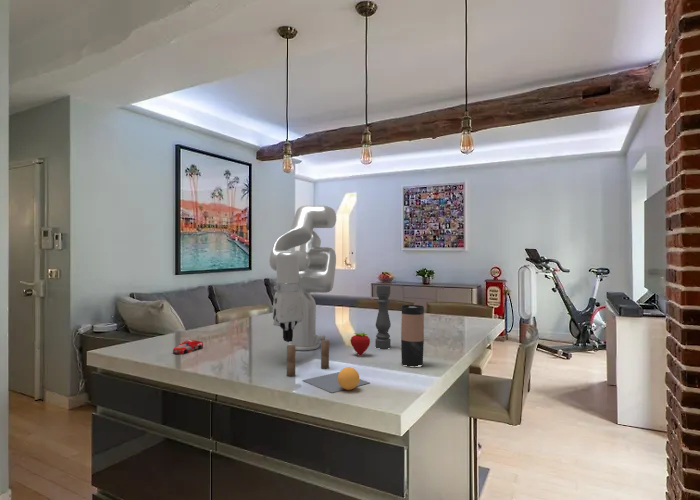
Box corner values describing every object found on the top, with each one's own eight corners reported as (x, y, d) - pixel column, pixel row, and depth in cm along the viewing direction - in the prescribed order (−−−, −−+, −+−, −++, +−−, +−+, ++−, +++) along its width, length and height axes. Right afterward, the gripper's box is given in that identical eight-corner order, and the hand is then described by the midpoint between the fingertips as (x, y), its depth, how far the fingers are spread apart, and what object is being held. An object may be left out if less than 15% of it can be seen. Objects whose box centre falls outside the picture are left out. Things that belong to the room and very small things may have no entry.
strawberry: (353, 352, 158) (353, 326, 158) (372, 354, 155) (372, 328, 156) (347, 356, 153) (348, 328, 153) (366, 358, 150) (367, 330, 150)
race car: (181, 356, 151) (181, 345, 151) (169, 355, 153) (169, 344, 153) (205, 348, 163) (205, 338, 164) (194, 347, 165) (194, 337, 165)
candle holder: (374, 346, 170) (374, 285, 171) (389, 346, 171) (389, 285, 171) (376, 349, 164) (377, 286, 165) (391, 349, 165) (392, 286, 165)
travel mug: (425, 363, 144) (425, 305, 144) (421, 368, 137) (422, 307, 137) (403, 361, 146) (403, 304, 147) (398, 366, 139) (399, 306, 139)
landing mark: (339, 372, 131) (339, 372, 131) (369, 383, 120) (369, 382, 120) (302, 380, 122) (302, 380, 122) (331, 393, 111) (331, 392, 111)
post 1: (292, 373, 129) (292, 344, 129) (296, 375, 127) (297, 346, 127) (284, 375, 127) (285, 345, 128) (289, 376, 126) (289, 347, 126)
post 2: (325, 366, 138) (325, 339, 138) (330, 368, 136) (330, 340, 136) (319, 367, 136) (319, 340, 136) (324, 369, 134) (324, 341, 134)
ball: (352, 388, 118) (347, 367, 120) (365, 386, 114) (361, 364, 115) (335, 392, 114) (331, 370, 116) (349, 390, 110) (344, 367, 111)
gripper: (274, 291, 135) (274, 347, 135) (312, 287, 144) (312, 339, 145) (263, 288, 140) (263, 342, 141) (299, 285, 150) (300, 335, 151)
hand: (287, 340), depth 143 cm, fingers closed
